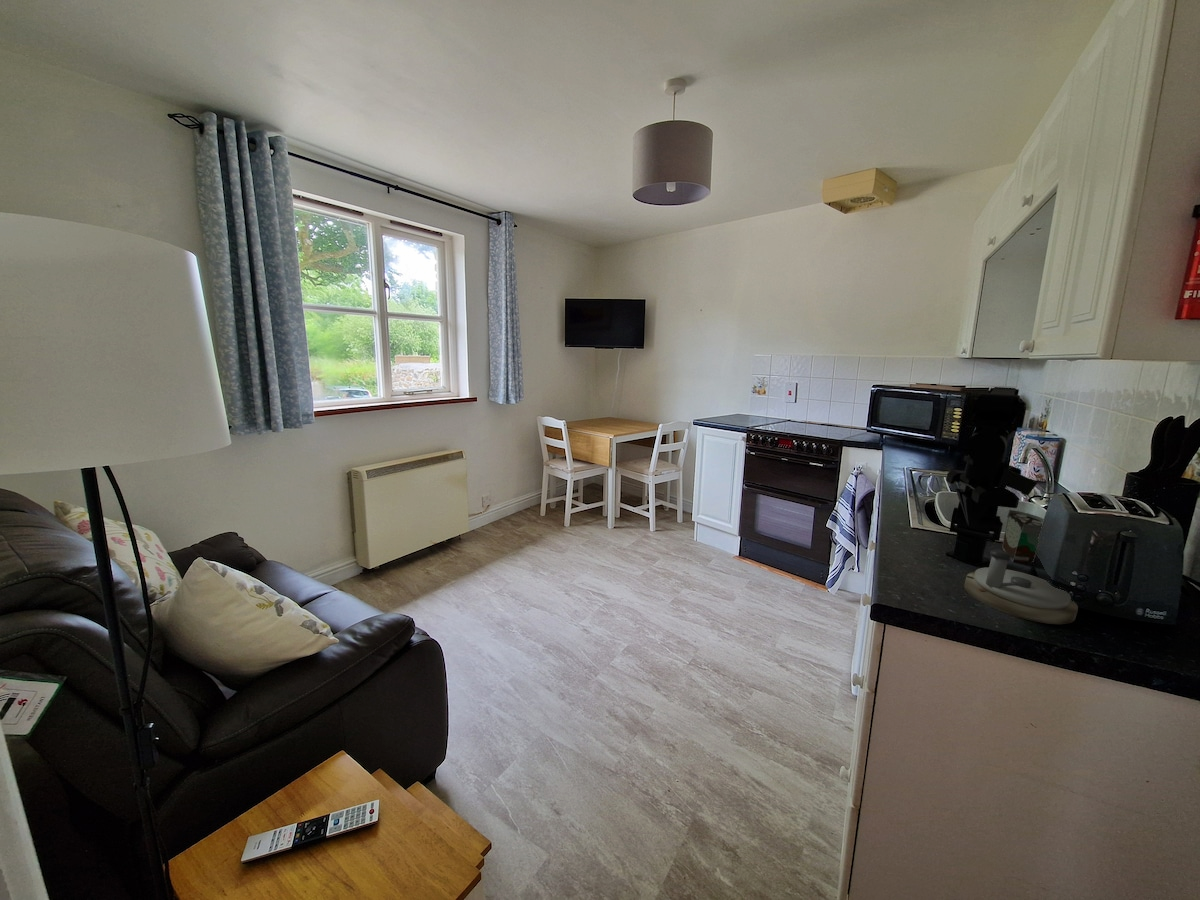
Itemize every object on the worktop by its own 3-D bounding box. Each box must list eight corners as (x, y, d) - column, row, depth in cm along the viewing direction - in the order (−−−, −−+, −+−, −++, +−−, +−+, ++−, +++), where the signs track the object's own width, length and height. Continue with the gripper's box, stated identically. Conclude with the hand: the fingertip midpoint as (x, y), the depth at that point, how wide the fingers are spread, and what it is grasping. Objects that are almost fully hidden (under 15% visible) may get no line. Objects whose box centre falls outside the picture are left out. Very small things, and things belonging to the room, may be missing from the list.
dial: (960, 568, 98) (968, 533, 96) (1039, 578, 94) (1048, 542, 92) (996, 601, 84) (1005, 561, 83) (1089, 614, 81) (1101, 573, 79)
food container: (1049, 571, 103) (1060, 530, 100) (1014, 564, 106) (1024, 524, 103) (1031, 551, 113) (1041, 513, 111) (1000, 545, 116) (1008, 509, 114)
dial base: (990, 574, 100) (992, 565, 100) (1092, 612, 86) (1095, 602, 85) (947, 588, 94) (949, 578, 93) (1049, 632, 79) (1052, 621, 79)
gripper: (1063, 469, 81) (1043, 549, 85) (1013, 450, 98) (997, 517, 102) (987, 462, 85) (971, 539, 88) (952, 445, 102) (939, 510, 106)
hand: (971, 525), depth 96 cm, fingers closed
